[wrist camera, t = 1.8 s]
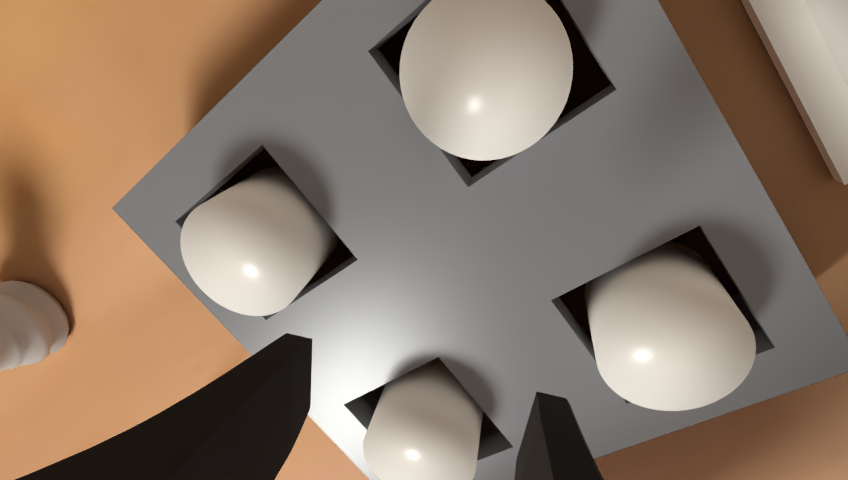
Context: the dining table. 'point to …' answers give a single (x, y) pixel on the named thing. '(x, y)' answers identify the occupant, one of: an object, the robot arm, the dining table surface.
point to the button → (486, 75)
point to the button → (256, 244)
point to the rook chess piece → (29, 324)
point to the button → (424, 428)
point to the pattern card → (811, 67)
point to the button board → (493, 228)
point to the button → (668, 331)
